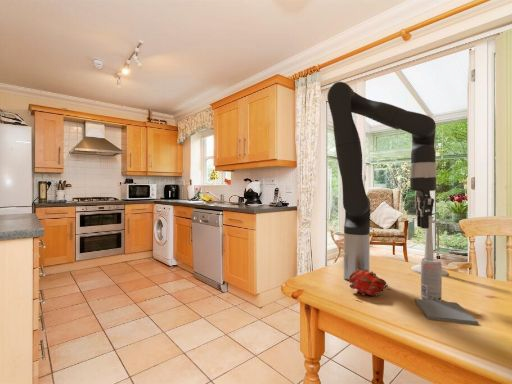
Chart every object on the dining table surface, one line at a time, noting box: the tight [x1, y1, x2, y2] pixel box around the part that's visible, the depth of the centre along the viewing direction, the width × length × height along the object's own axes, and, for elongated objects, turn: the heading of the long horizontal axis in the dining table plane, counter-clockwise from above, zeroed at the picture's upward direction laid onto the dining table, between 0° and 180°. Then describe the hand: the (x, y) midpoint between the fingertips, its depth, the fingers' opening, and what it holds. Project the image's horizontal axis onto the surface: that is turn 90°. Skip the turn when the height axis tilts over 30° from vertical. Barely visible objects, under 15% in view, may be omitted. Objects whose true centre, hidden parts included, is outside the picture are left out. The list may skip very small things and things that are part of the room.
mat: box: [414, 298, 479, 325], centre depth 75 cm, size 11×12×1 cm
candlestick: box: [410, 210, 448, 277], centre depth 113 cm, size 13×13×30 cm
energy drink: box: [420, 257, 443, 301], centre depth 84 cm, size 5×5×12 cm
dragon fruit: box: [347, 269, 389, 297], centre depth 88 cm, size 8×8×12 cm
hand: (422, 227), depth 92 cm, fingers open, 3 cm apart
